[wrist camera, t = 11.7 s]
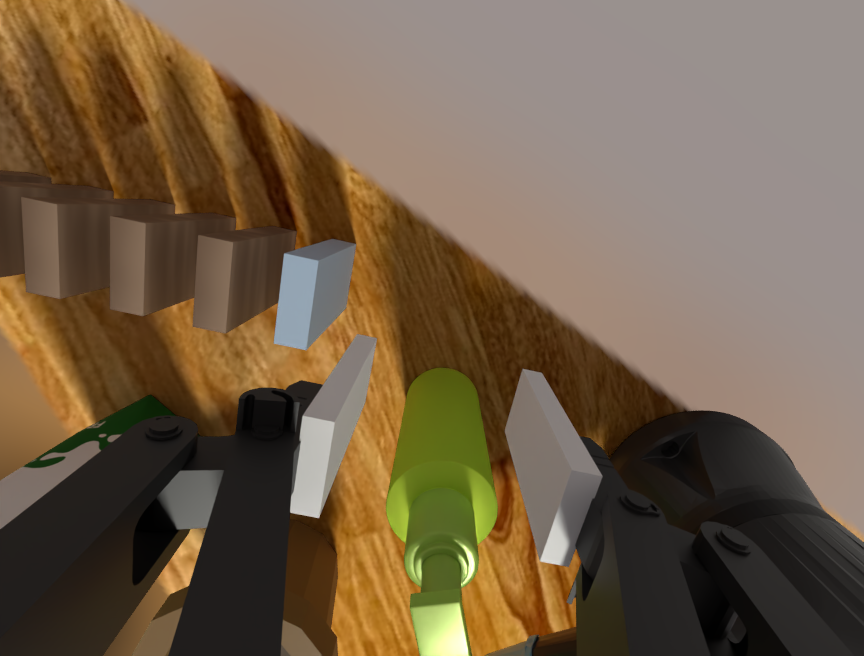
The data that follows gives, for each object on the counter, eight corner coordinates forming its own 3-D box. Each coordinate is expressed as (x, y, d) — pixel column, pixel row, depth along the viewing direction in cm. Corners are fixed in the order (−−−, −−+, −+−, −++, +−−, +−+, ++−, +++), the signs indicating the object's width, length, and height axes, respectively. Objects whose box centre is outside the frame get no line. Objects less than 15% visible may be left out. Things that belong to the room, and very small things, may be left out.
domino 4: (296, 231, 32) (233, 242, 22) (288, 296, 33) (225, 333, 23) (272, 225, 32) (198, 234, 22) (265, 291, 33) (192, 326, 23)
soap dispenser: (415, 448, 36) (384, 720, 17) (400, 373, 35) (346, 584, 15) (484, 438, 36) (531, 706, 17) (472, 362, 34) (510, 564, 15)
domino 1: (113, 191, 31) (-33, 185, 22) (113, 258, 33) (-25, 281, 23) (88, 185, 31) (-70, 177, 22) (89, 253, 33) (-59, 274, 23)
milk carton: (171, 508, 39) (-97, 806, 19) (87, 442, 37) (-296, 698, 18) (232, 449, 37) (3, 714, 18) (147, 378, 35) (-209, 585, 16)
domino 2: (175, 204, 31) (57, 204, 22) (172, 271, 33) (59, 298, 23) (150, 199, 31) (21, 196, 22) (148, 266, 33) (26, 292, 23)
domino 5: (356, 243, 32) (318, 260, 22) (345, 308, 33) (306, 350, 24) (332, 238, 32) (284, 253, 22) (322, 303, 33) (273, 343, 24)
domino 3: (236, 218, 32) (145, 223, 22) (230, 283, 33) (143, 316, 23) (211, 212, 31) (110, 215, 22) (207, 278, 33) (109, 309, 23)
